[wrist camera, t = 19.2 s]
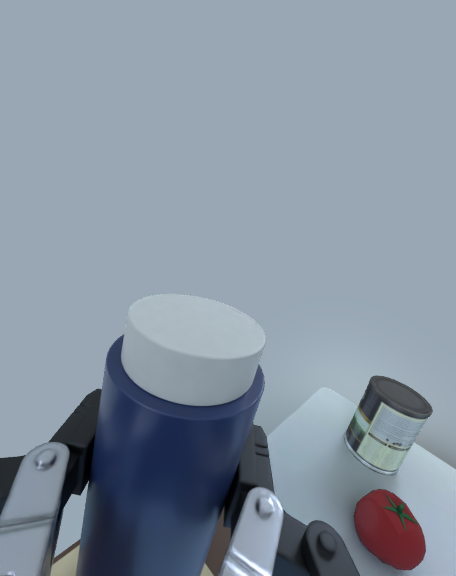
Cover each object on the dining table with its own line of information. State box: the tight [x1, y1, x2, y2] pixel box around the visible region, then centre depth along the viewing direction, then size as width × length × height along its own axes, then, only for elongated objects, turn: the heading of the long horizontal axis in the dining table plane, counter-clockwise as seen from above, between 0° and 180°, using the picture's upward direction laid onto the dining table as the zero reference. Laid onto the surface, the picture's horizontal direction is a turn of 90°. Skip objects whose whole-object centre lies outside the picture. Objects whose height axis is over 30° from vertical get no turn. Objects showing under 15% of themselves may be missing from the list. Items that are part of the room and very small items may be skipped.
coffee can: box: [344, 376, 433, 475], centre depth 50 cm, size 10×10×14 cm
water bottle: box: [75, 294, 266, 576], centre depth 10 cm, size 5×5×14 cm
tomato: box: [354, 489, 426, 570], centre depth 35 cm, size 8×8×7 cm
